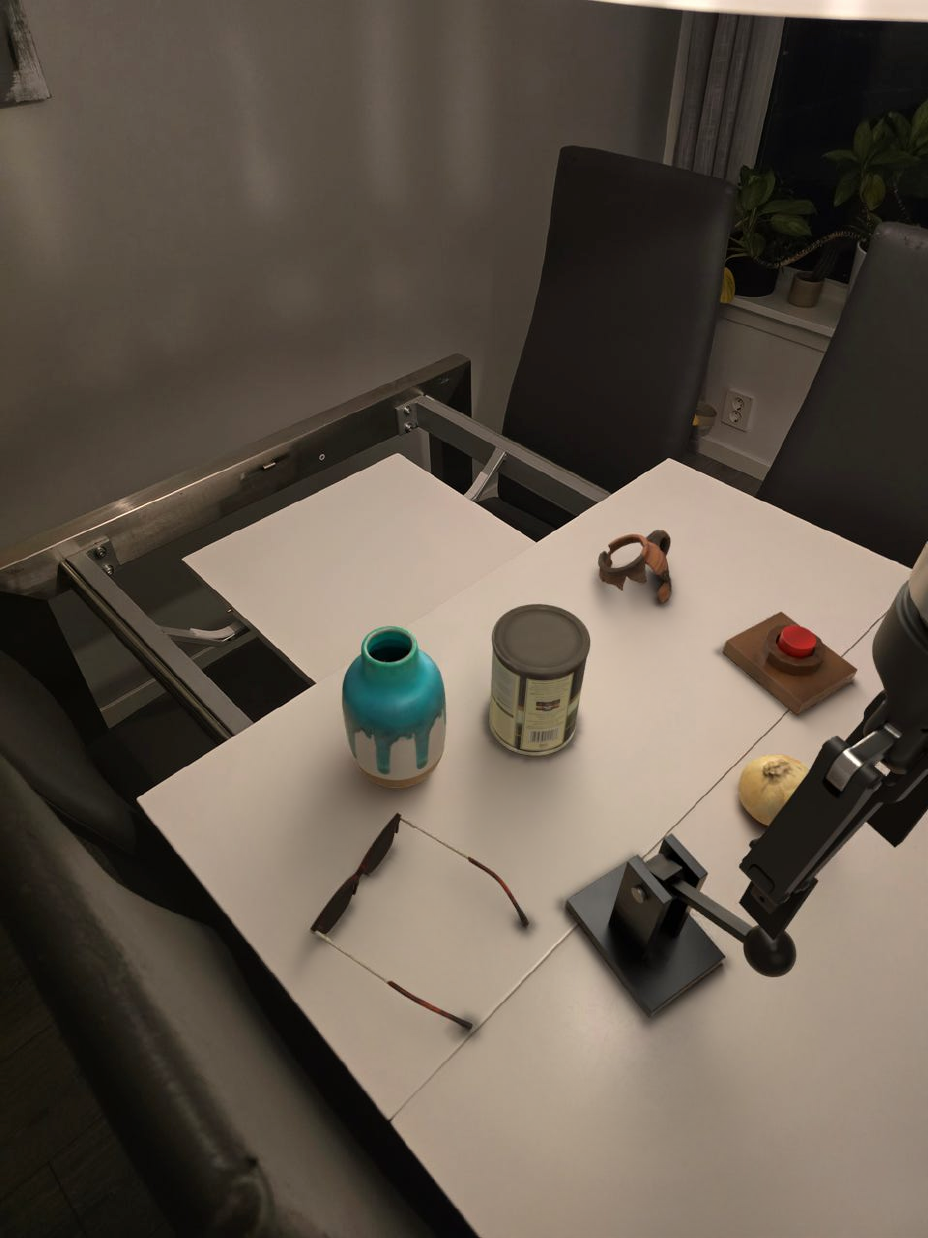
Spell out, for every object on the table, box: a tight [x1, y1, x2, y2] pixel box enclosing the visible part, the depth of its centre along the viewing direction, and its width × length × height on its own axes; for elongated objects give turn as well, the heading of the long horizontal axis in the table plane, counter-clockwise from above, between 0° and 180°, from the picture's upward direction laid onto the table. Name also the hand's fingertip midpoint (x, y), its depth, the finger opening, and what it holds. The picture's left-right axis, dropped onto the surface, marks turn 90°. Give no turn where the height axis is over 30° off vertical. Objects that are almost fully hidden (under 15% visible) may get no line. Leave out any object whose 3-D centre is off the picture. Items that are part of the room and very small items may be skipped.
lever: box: [643, 853, 797, 978], centre depth 61 cm, size 14×4×4 cm, turn 32°
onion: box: [738, 754, 810, 827], centre depth 81 cm, size 8×8×7 cm
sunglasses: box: [309, 812, 530, 1030], centre depth 72 cm, size 14×16×5 cm
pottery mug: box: [597, 529, 673, 604], centre depth 108 cm, size 12×10×8 cm
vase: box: [341, 625, 448, 789], centre depth 80 cm, size 11×11×19 cm
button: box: [778, 625, 816, 659], centre depth 95 cm, size 4×4×2 cm
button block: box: [722, 611, 859, 716], centre depth 97 cm, size 12×10×4 cm
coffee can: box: [488, 603, 591, 757], centre depth 87 cm, size 10×10×14 cm
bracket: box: [565, 833, 726, 1018], centre depth 69 cm, size 12×9×13 cm
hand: (822, 871), depth 48 cm, fingers open, 10 cm apart
